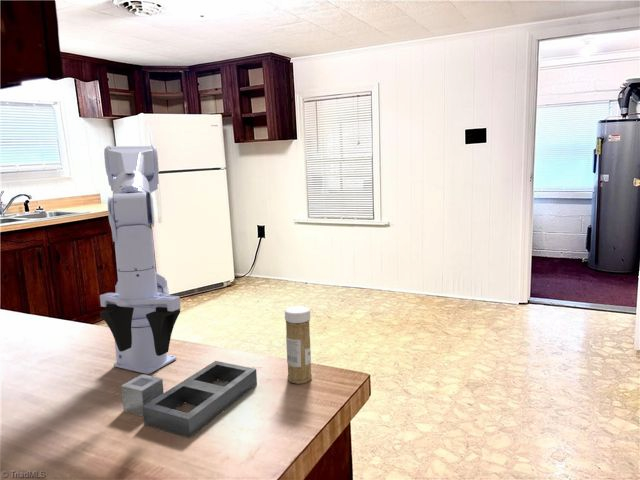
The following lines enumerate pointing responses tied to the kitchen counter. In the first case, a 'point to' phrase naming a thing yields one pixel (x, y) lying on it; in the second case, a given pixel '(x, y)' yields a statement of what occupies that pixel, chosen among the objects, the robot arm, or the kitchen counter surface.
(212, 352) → the kitchen counter surface
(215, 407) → the grey rectangular tray
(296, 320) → the sprinkles bottle
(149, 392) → the gray block
